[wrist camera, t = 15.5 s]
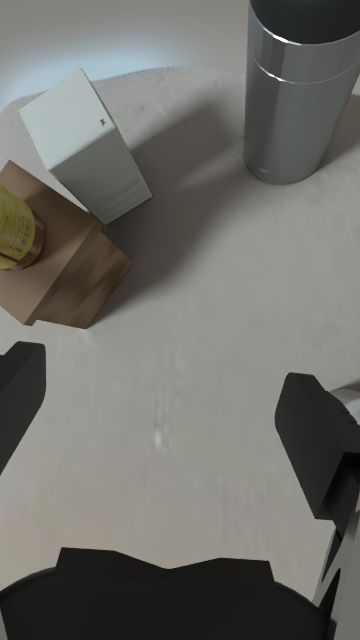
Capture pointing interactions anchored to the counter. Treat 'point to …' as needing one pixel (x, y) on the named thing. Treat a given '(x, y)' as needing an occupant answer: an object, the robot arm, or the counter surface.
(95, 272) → the brown wooden box
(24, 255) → the sauce bottle
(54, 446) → the counter surface
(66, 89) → the supplement box
